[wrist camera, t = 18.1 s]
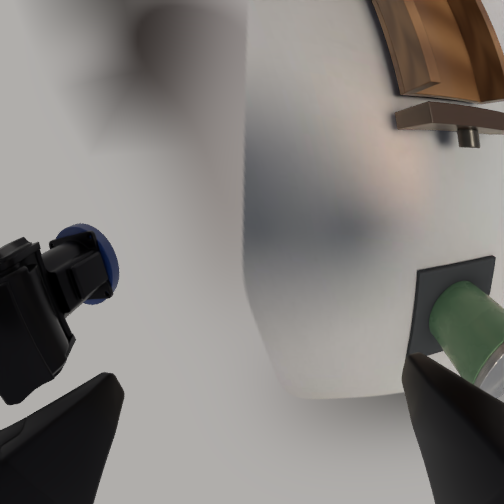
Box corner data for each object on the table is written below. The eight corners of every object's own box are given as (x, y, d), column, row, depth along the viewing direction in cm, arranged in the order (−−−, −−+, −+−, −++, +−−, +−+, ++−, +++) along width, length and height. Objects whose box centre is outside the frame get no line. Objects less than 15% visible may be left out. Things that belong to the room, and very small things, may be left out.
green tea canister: (416, 327, 20) (462, 399, 12) (456, 269, 18) (522, 324, 10) (451, 345, 20) (493, 407, 12) (487, 295, 19) (542, 347, 10)
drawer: (490, 149, 14) (529, 152, 10) (399, 147, 16) (435, 145, 11) (433, -29, 9) (455, -51, 5) (339, -48, 10) (350, -80, 6)
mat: (405, 357, 22) (407, 361, 21) (417, 270, 19) (419, 273, 18) (476, 336, 21) (478, 339, 20) (492, 255, 18) (495, 257, 17)
